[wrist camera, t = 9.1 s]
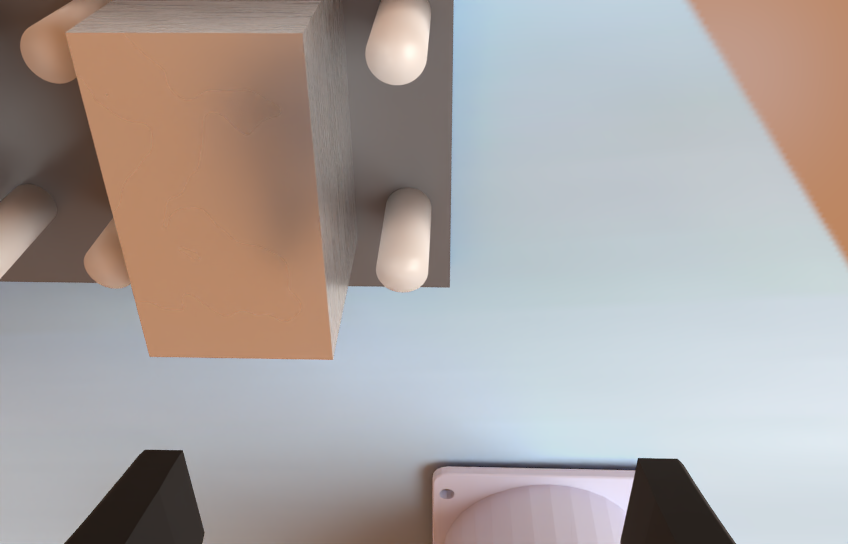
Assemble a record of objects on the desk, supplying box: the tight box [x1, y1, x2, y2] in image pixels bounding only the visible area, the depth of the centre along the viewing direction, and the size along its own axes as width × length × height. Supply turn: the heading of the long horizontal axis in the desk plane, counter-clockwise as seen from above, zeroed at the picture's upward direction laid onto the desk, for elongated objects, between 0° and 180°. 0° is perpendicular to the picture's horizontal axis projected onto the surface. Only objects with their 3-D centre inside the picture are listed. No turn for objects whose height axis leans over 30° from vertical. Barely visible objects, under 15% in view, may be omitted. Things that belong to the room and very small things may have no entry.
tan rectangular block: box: [65, 0, 357, 360], centre depth 17 cm, size 7×4×5 cm, turn 0°
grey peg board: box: [0, 0, 453, 292], centre depth 18 cm, size 10×19×4 cm, turn 90°
